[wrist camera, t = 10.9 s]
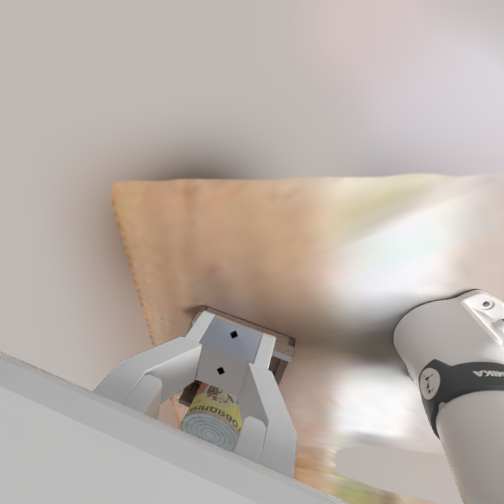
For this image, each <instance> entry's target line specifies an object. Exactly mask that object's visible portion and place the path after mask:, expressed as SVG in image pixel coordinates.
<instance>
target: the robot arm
mask: <svg viewBox="0 0 504 504" xmlns="http://www.w3.org/2000/svg"><path fill="white" fill-rule="evenodd" d="M484 302H487V303H485V304H483V303H484ZM275 340H276V338H275V336H272V335H269V334H266V333H263V332H260V331H257V330H255V329H252V328H249V327H246V326H244V325H241V324H238V323H235V322H233V321H230V320H228V319H225V318H223V317H220V316H218V315H215V314H212V313H210V312H207V311H203V312H202V313H201V315H200V316H199V317H198V319H197V320H196V322H195V323H194V325H193V326H192V328H191V329H190V330H189V332H188V333H187V335H186V336H185V338H184V337H182V336H180V337H178V338H176V339H173V340H171V341H168V342H166V343H163V344H161V345H159V346H156V347H154V348H152V349H149V350H147V351H144V352H142V353H139V354H137V355H134V356H132V357H129V358H127V359H125V360H122V361H120V362H119V363H118V364H117V366H116V367H115V368H114V369H113V370H112V371H111V372H110V373H109V374H108V375H107V377H106V378H105V379H104V380H103V381H102V382H101V383H100V384H99V385H98V386H97V388H96V389H95V390H94V391H93V392H92V391H90V390H87V389H85V388H83V387H81V386H78V385H76V384H74V383H71V382H69V381H67V380H65V379H62V378H60V377H58V376H55V375H53V374H51V373H49V372H46V371H44V370H42V369H39V368H37V367H35V366H33V365H30V364H28V363H26V362H23V361H21V360H19V359H16V358H14V357H12V356H10V355H7V354H5V353H3V352H0V504H350V503H347V502H345V501H343V500H340V499H338V498H336V497H334V496H331V495H329V494H327V493H324V492H322V491H320V490H318V489H315V488H313V487H311V486H308V485H306V484H304V483H301V482H299V481H297V480H295V479H293V476H294V466H295V456H296V446H297V432H296V430H295V427H294V425H293V422H292V420H291V418H290V415H289V413H288V410H287V408H286V405H285V403H284V400H283V398H282V395H281V393H280V390H279V388H278V386H277V383H276V381H275V378H274V376H273V373H272V371H269V370H268V368H269V364H270V360H271V356H272V352H273V348H274V344H275ZM393 341H394V346H395V349H396V351H397V352H398V354H399V355H400V357H401V358H402V360H403V361H404V363H405V364H406V366H407V369H408V373H409V375H410V377H411V379H412V380H413V381H414V382H415V383H416V385H417V387H418V389H419V391H420V393H421V398H422V402H423V405H424V408H425V411H426V414H427V416H428V420H429V423H430V425H431V426H432V429H433V431H434V433H435V435H436V436H437V437H438V438H439V439H440V440H441V443H442V446H443V449H444V451H445V454H446V457H447V459H448V462H449V464H450V467H451V470H452V473H453V476H454V479H455V482H456V484H457V487H458V490H459V492H460V495H461V498H462V501H463V503H464V504H504V301H502V300H500V299H498V298H496V297H494V296H492V295H490V294H488V293H486V292H485V291H482V290H473V291H469V292H467V293H465V294H462V295H460V296H458V297H456V298H452V299H447V300H439V301H434V302H430V303H426V304H423V305H421V306H419V307H417V308H415V309H413V310H411V311H410V312H409V313H407V314H406V315H405V316H404V317H403V318H402V319H401V320H400V321H399V323H398V324H397V326H396V328H395V331H394V336H393ZM195 379H196V380H198V381H201V382H204V383H207V384H209V385H212V386H215V387H217V388H219V389H222V390H224V391H226V392H228V393H231V394H233V395H235V396H238V397H237V398H238V403H239V409H240V414H241V419H242V424H243V425H242V428H241V431H240V433H239V436H238V439H237V441H236V444H235V447H234V449H233V452H230V451H228V450H225V449H223V448H221V447H219V446H216V445H214V444H212V443H209V442H207V441H205V440H202V439H200V438H198V437H196V436H193V435H191V434H189V433H186V432H184V431H182V430H179V429H177V428H175V427H173V426H170V425H168V424H165V423H163V422H161V421H159V420H158V416H159V408H160V404H161V403H162V402H164V401H165V400H167V399H168V398H170V397H171V396H173V395H174V394H176V393H177V392H179V391H180V390H182V389H183V388H185V387H186V386H188V385H189V384H191V383H192V382H194V381H195Z"/></svg>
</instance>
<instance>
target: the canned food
mask: <svg viewBox="0 0 504 504" xmlns="http://www.w3.org/2000/svg"><path fill="white" fill-rule="evenodd" d="M237 397H238V396H235V395H233V394H231V393H228V392H226V391H224V390H222V389H219V388H217V387H215V386H212V385H209V384H207V383H204V382H202V383H201V385H200V387H199V389H198V391H197V393H196V395H195V397H194V399H193V401H192V403H191V405H190V407H189V409H188V411H187V413H186V415H185V417H184V418H183V420H182V423H181V427H182V431H184V432H186V433H189V434H191V435H193V436H196V437H198V438H200V439H202V440H205V441H207V442H209V443H212V444H214V445H216V446H219V447H221V448H223V449H225V450H228V451H230V452H233V449H234V447H235V444H236V441H237V439H238V436H239V433H240V431H241V428H242V425H243V424H242V419H241V414H240V409H239V403H238V398H237Z"/></svg>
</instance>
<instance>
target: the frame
mask: <svg viewBox="0 0 504 504" xmlns="http://www.w3.org/2000/svg"><path fill="white" fill-rule="evenodd" d="M203 311H207V312H210V313H212V314H215V315H218V316H220V317H223V318H225V319H228V320H230V321H233V322H235V323H238V324H241V325H244V326H246V327H249V328H252V329H255V330H257V331H260V332H263V333H266V334H269V335H272V336H275V338H276V340H275V344H274V348H273V352H272V356H274V357H277V358H280V361H279V364H278V366H277V369H276V371H275V374H274V378H275V381H276V383H277V386H278V384H279V382H280V380H281V377H282V375H283V373H284V370H285V368H286V365H287V363H288V362H290V363H291V360H292V358H293V352H294V346H295V339H293V338H290V337H288V336H285V335H282V334H279V333H277V332H274V331H271V330H269V329H266V328H263V327H260V326H258V325H255V324H252V323H250V322H247V321H244V320H241V319H239V318H236V317H233V316H231V315H228V314H225V313H222V312H220V311H217V310H214V309H212V308H209V307H206V306H202V308H201V309H200V310H199V312H198V313H197V315H196V316H195V317H194V319H193V320H192V325H194V323H195V322H196V320H197V319H198V317H199V316H200V315H201V313H202V312H203ZM199 387H200V386H198V385H195V384H194V382H192V383H191V384H189V385H188V386H186V387H185V390H184V391H183V393H182V395H181V397H180V399H179V403H181V404H184V405H186V406H188V407H190V405H191V403H192V401H193V399H194V397H195V395H196V393H197V391H198V389H199Z"/></svg>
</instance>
